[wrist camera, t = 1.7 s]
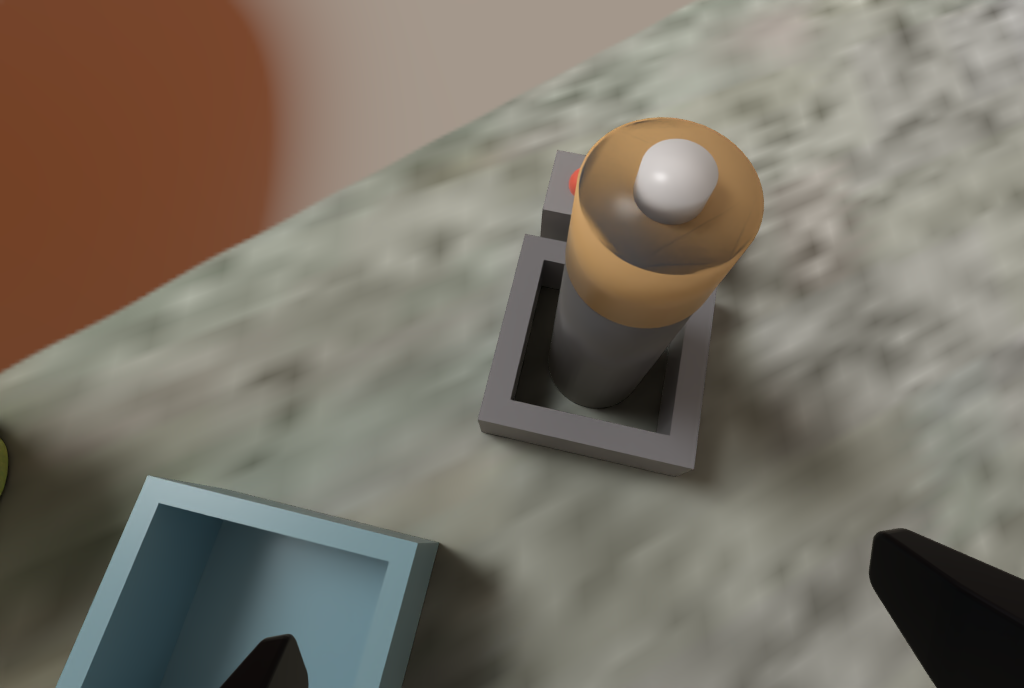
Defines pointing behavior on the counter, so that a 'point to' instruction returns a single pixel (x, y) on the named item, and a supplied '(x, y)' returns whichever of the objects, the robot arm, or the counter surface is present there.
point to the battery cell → (646, 250)
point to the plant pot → (3, 465)
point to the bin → (249, 593)
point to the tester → (573, 432)
